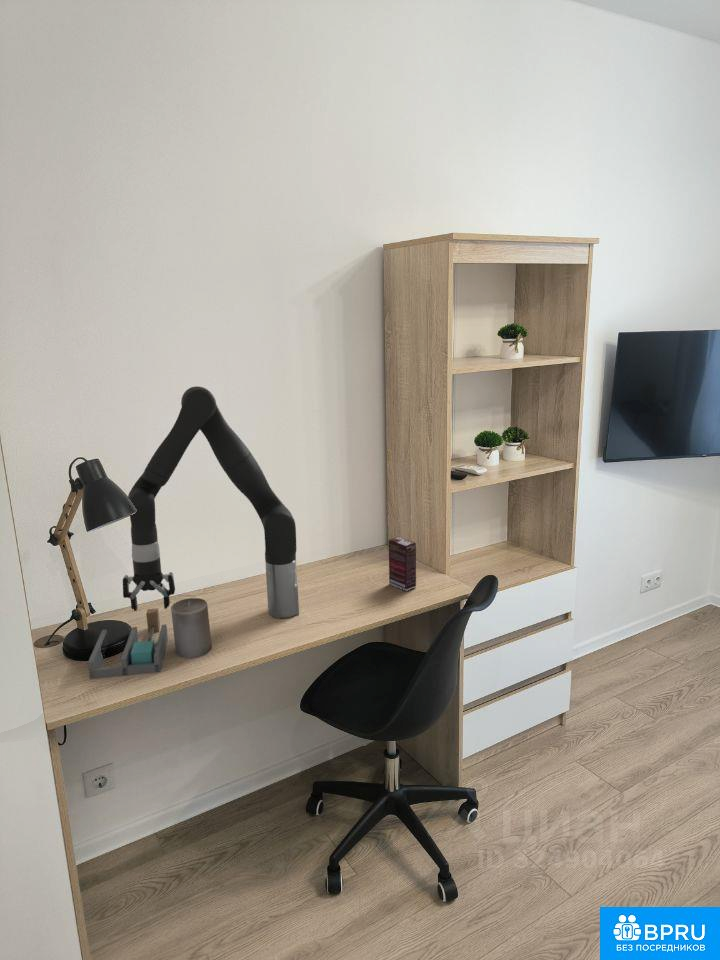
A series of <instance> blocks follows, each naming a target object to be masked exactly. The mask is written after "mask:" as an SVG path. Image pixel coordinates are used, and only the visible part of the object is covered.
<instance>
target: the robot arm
mask: <svg viewBox="0 0 720 960" xmlns="http://www.w3.org/2000/svg"><path fill="white" fill-rule="evenodd" d="M180 404H181V408H180V411H179V413H178V416H177V418H176V421H175V422H174V425H173V426H172V428H171V429H170V431H169V432H168V434H167V436H165V438H164V439H163V441H162V442H161V443H160V445H159V446H158V447H157V449H156V450H155V452H154V454H153V455H152V457H151V458H150V460H149V461H148V464H147V465H146V467H145V468H144V470H143V472H142V474H141V475H140V477H139V478H138V479H137V480H136V482H135V483H134V484H133V485H132V487H131V490H129V492H128V496H127V499H128V498H129V499H130V500H131V502H132V503H133V505H134V506H135V508H136V509H137V512H136V513H135V514H133V515H130V514H129V520H130V537H131V558H132V567H133V569H132V570H133V576H129V575H127V574H126V575H124V576H123V578H122V596H123V598H124V599H127V598H128V599H129V600H130V606H131V608H130V609H132V610H133V611H134V612H137V611H138V599H137V595H138V593H139V592H140V591H141V590H142V591H143V592H147V591H155V590H156V591H157V592H158V593H160V594H162V596H163V608H164V610H165V609H166V610H167V609H168V607H169V606H170V603H171V601H170V600H171V599H170V596H171V595H174V594H175V591H176V585H175V580H174V579H175V578H174V573H173V572H169V573H166V574H163V572H162V566H161V565H162V564H161V552H160V546H159V540H158V530H157V523H156V503H155V502H156V501H155V499H156V498H157V495H158V494H159V493H160V490H161V489H162V488H163V487H164V486H165V485H166V484H167V483H168V482H169V480H170V478H171V477H172V476H173V474H174V471H175V470H176V468H177V466H178V465H179V464H180V461H181V459H182V458H183V456H184V454H185V452H186V450H187V449H188V447H189V446H190V444H191V443H192V441H193V440H194V438H195V436H196V435H197V433H199V431H200V432H201V433H202V434H203V436H204V437H205V438H206V440H207V442H208V445H209V446H210V448H211V450H212V452H213V455H214V456H215V458H216V459H217V461H218V463H219V465H220V467H221V468H222V470H223V471H224V473H225V474H226V476H227V477H228V479H229V480H230V481H231V483H232V484H233V485H234V486H235V488H237V489H238V491H239V492H241V494H243V496H244V497H245V498H246V499H247V500H248V501H249V502H250V503H251V505H252V507H253V508H254V510H255V512H256V513H257V516H258V517H259V519H260V521H261V525H262V526H263V531H264V546H265V548H264V562H265V575H266V576H265V578H266V595H267V609H268V610H267V612H268V615H269V616H270V617H272V618H275V619H288V618H291V617H293V616H297V615H299V614H300V607H299V605H300V604H299V588H298V585H299V584H298V575H297V571H298V570H297V527H296V521H295V519H294V517H293V514H292V513H291V511H290V510H289V509H288V508H287V507H286V506H285V504H284V503H283V502H282V501H281V499H280V498H279V497H278V496H277V494H276V493H275V492H274V490H273V489H272V487H271V486H270V484H269V482H268V480H267V478H266V476H265V474H264V472H263V470H262V468H261V466H260V465H259V463H258V461H257V460H256V458H255V457H254V455H253V454H252V452H251V451H250V449H249V448H248V447H247V445H246V444H245V442H243V441H242V439H241V438H240V437H239V436H238V435H237V434H236V432H235V431H234V430H233V428H231V427H230V425H229V423H228V422H227V421H226V420H225V418H224V416H223V414H222V412H221V410H220V408H219V406H218V404H217V402H216V398H215V396H214V395H213V394H212V392H211V391H210V390H209V389H207V388H205V387H203V386H191V387H190V388H187V389H186V390H185V391H184V392H183V394H182V397H181V402H180ZM163 580H165V581H166V583H168V589H167V587H166V586H165V585H164V583H163ZM132 582H133V583H134V584H135V585H136V586H135V587H134V589H133V590H132V591H130V590H129V589H130V586H129V585H131V583H132Z"/></svg>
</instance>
